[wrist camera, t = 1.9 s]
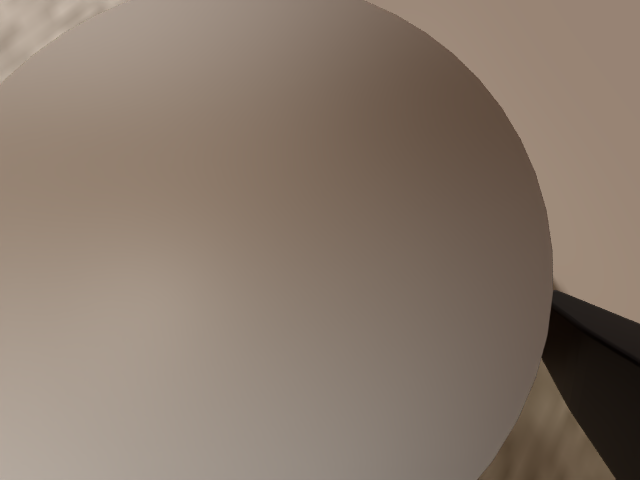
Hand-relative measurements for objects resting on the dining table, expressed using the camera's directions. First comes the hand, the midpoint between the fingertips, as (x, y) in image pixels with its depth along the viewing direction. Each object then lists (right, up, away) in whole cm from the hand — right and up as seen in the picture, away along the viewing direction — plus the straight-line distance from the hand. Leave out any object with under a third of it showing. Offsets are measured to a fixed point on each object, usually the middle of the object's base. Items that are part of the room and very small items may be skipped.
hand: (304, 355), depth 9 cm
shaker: (0, -2, +8) cm, 8 cm away
